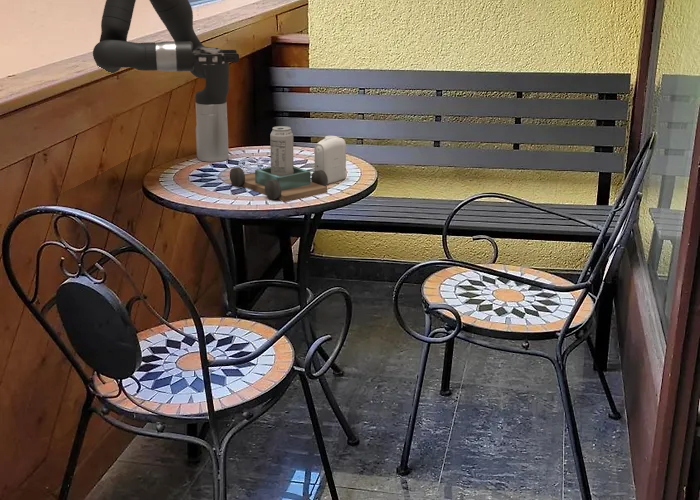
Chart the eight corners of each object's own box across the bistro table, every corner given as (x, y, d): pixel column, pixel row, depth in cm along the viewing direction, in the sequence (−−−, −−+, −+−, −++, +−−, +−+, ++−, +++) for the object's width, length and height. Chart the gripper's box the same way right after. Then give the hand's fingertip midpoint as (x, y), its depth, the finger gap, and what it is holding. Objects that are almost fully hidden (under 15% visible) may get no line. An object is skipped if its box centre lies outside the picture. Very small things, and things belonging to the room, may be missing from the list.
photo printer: (323, 186, 220) (324, 141, 216) (312, 183, 223) (312, 139, 219) (347, 179, 228) (348, 135, 224) (336, 176, 230) (336, 133, 226)
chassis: (226, 183, 222) (226, 165, 220) (276, 173, 232) (276, 156, 231) (280, 203, 205) (279, 184, 203) (331, 191, 216) (331, 173, 214)
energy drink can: (298, 183, 217) (297, 128, 212) (281, 187, 213) (281, 131, 208) (283, 179, 221) (282, 124, 216) (266, 183, 217) (265, 127, 211)
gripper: (174, 44, 201) (239, 44, 204) (173, 38, 214) (235, 38, 217) (175, 75, 203) (240, 74, 207) (175, 67, 216) (236, 66, 220)
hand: (237, 55), depth 212 cm, fingers open, 8 cm apart
